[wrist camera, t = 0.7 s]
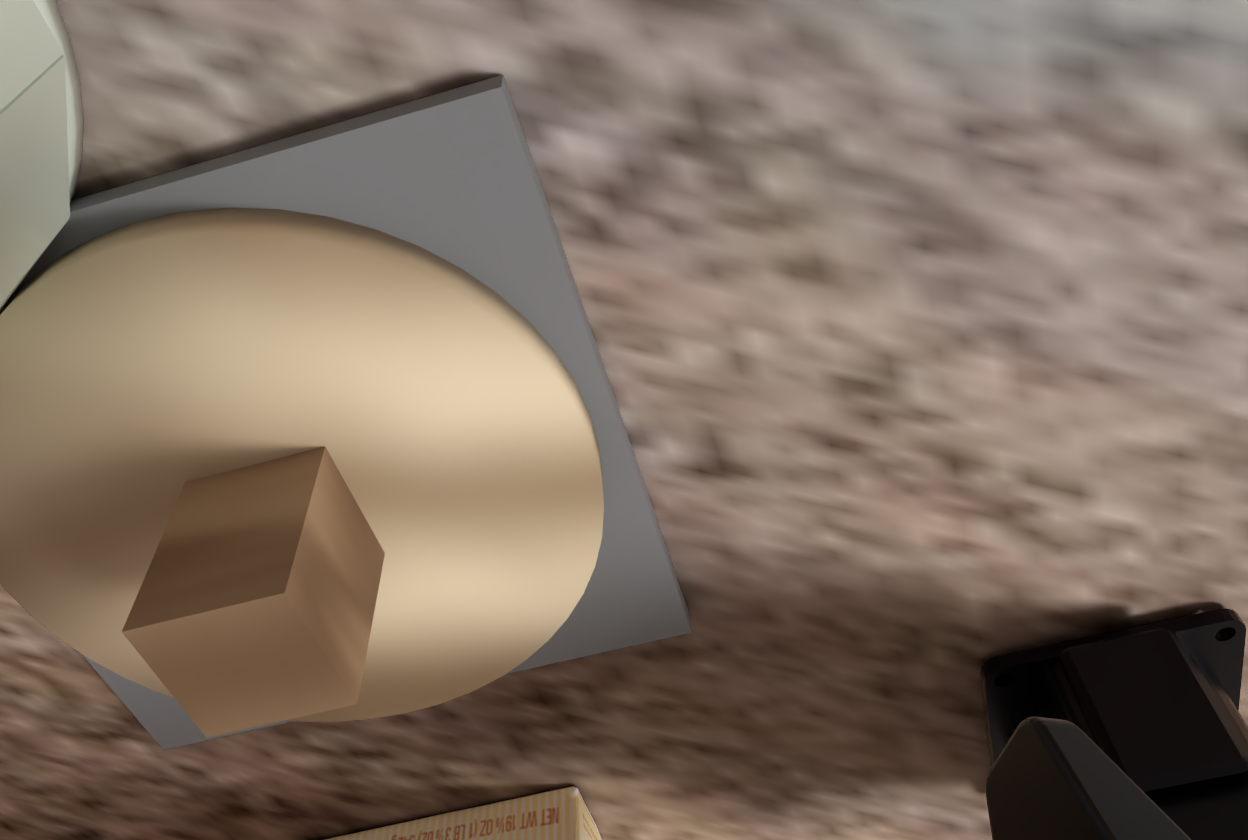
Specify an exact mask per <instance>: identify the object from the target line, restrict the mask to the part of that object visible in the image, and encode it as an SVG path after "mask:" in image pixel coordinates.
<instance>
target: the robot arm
mask: <svg viewBox="0 0 1248 840" xmlns="http://www.w3.org/2000/svg"><path fill="white" fill-rule="evenodd" d="M1245 636H1246V628H1245V625H1244V623H1243V622H1242V620H1241V619H1240V617H1239V616H1238V614H1237V613H1236V612H1235V611H1233V610H1230V609H1218V610H1213V611H1208V612H1204V613H1199V614H1194V615H1190V616H1185V617H1180V618H1175V619H1171V620H1166V621H1161V622H1157V623H1152V624H1147V625H1142V626H1138V627H1133V628H1128V629H1124V630H1119V631H1114V632H1110V633H1105V634H1100V635H1095V636H1091V637H1086V638H1081V639H1077V640H1072V641H1067V642H1062V643H1058V644H1053V645H1048V646H1044V647H1039V648H1034V649H1029V650H1025V651H1020V652H1015V653H1011V654H1006V655H1001V656H997V657H994V658H991V659H990V660H988V661H987V662H985V663H984V664H983V666H982V667H981V671H980V675H981V683H982V692H983V700H984V708H985V716H986V725H987V733H988V741H989V749H990V757H991V766H992V768H991V770H990V772H989V776H988V779H987V785H986V798H987V806H988V812H989V819H990V826H991V833H992V839H993V840H1248V726H1247V725H1246V723H1245V721H1244V720H1243V718H1242V717H1241V715H1240V713H1239V712H1238V709H1239V699H1240V688H1241V678H1242V668H1243V657H1244V647H1245Z"/></svg>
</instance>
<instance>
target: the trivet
mask: <svg viewBox="0 0 1248 840" xmlns="http://www.w3.org/2000/svg"><path fill="white" fill-rule="evenodd" d="M221 208H257V209H281V210H288V211H295V212H301V213H308V214H315V215H321V216H328V217H332V218H336V219H339V220H343V221H347V222H351V223H354V224H358V225H362V226H366V227H369V228H373V229H376V230H379V231H382V232H384V233H387V234H389V235H392V236H394V237H397V238H399V239H402V240H405V241H407V242H410V243H412V244H415V245H417V246H420V247H422V248H424V249H426V250H428V251H429V252H431V253H433V254H435V255H437V256H439V257H441V258H443V259H445V260H446V261H448V262H450V263H452V264H454V265H456V266H458V267H460V268H461V269H463V270H464V271H466V272H467V273H469V274H470V275H472V276H473V277H475V278H476V279H477V280H479V281H480V282H482V283H483V284H485V285H486V286H488V287H489V288H490V289H492V290H493V291H495V292H496V293H498V294H499V295H500V296H501V297H502V298H503V299H505V300H506V301H507V302H508V303H509V304H510V305H511V306H512V307H514V308H515V309H516V310H517V311H518V312H519V313H520V314H521V315H523V316H524V317H525V318H526V319H527V320H528V321H529V322H530V323H531V324H532V325H533V326H534V327H535V329H536V330H537V331H538V332H539V333H540V334H541V336H542V337H543V338H544V339H545V340H546V341H547V342H548V344H549V345H550V346H551V347H552V348H553V349H554V351H555V352H556V353H557V355H558V356H559V358H560V359H561V361H562V362H563V364H564V366H565V367H566V369H567V370H568V372H569V373H570V375H571V376H572V378H573V379H574V381H575V382H576V384H577V387H578V389H579V391H580V393H581V395H582V398H583V400H584V402H585V404H586V406H587V408H588V411H589V413H590V415H591V419H592V422H593V426H594V430H595V433H596V437H597V440H598V444H599V449H600V458H601V468H602V477H603V496H604V516H603V532H602V540H601V545H600V549H599V553H598V557H597V561H596V565H595V568H594V570H593V573H592V575H591V577H590V580H589V582H588V584H587V587H586V589H585V591H584V594H583V595H582V597H581V598H580V600H579V602H578V603H577V605H576V606H575V608H574V609H573V611H572V613H571V614H570V616H569V617H568V619H567V620H566V621H565V622H564V623H563V624H562V626H561V627H560V628H559V629H558V630H557V631H556V632H555V634H554V635H553V636H552V637H551V638H550V639H549V640H548V641H547V642H546V643H545V644H544V645H543V646H542V647H540V648H539V649H538V650H537V651H536V652H535V653H534V654H532V655H531V656H530V657H529V658H528V659H527V660H525V661H524V662H523V663H521V664H520V665H518V666H517V667H515V668H514V669H512V670H511V671H509V672H508V673H506V674H509V673H514V672H518V671H523V670H527V669H532V668H536V667H541V666H545V665H550V664H554V663H559V662H563V661H568V660H572V659H577V658H581V657H586V656H590V655H595V654H599V653H604V652H608V651H613V650H617V649H622V648H626V647H631V646H635V645H640V644H644V643H649V642H653V641H658V640H662V639H667V638H671V637H676V636H680V635H685V634H689V633H692V630H691V622H690V614H689V612H688V609H687V606H686V603H685V600H684V597H683V594H682V591H681V588H680V586H679V583H678V580H677V577H676V574H675V571H674V568H673V565H672V562H671V559H670V557H669V554H668V551H667V548H666V545H665V542H664V539H663V536H662V533H661V531H660V528H659V525H658V522H657V519H656V516H655V513H654V510H653V507H652V504H651V502H650V499H649V496H648V493H647V490H646V487H645V484H644V481H643V478H642V476H641V473H640V470H639V467H638V464H637V461H636V458H635V455H634V452H633V450H632V447H631V444H630V441H629V438H628V435H627V432H626V429H625V426H624V423H623V421H622V418H621V415H620V412H619V409H618V406H617V403H616V400H615V397H614V395H613V392H612V389H611V386H610V383H609V380H608V377H607V374H606V371H605V368H604V366H603V363H602V360H601V357H600V354H599V351H598V348H597V345H596V342H595V340H594V337H593V334H592V331H591V328H590V325H589V322H588V319H587V316H586V314H585V311H584V308H583V305H582V302H581V299H580V296H579V293H578V290H577V287H576V285H575V282H574V279H573V276H572V273H571V270H570V267H569V264H568V261H567V259H566V256H565V253H564V250H563V247H562V244H561V241H560V238H559V235H558V233H557V230H556V227H555V224H554V221H553V218H552V215H551V212H550V209H549V206H548V204H547V201H546V198H545V195H544V192H543V189H542V186H541V183H540V180H539V178H538V175H537V172H536V169H535V166H534V163H533V160H532V157H531V154H530V151H529V149H528V146H527V143H526V140H525V137H524V134H523V131H522V128H521V125H520V123H519V120H518V117H517V114H516V111H515V108H514V105H513V102H512V99H511V97H510V94H509V91H508V88H507V85H506V82H505V79H504V76H503V75H500V76H496V77H493V78H490V79H486V80H483V81H479V82H476V83H472V84H469V85H466V86H462V87H459V88H455V89H452V90H448V91H445V92H442V93H438V94H435V95H431V96H428V97H424V98H421V99H418V100H414V101H411V102H407V103H404V104H400V105H397V106H394V107H390V108H387V109H383V110H380V111H376V112H373V113H370V114H366V115H363V116H359V117H356V118H352V119H349V120H346V121H342V122H339V123H335V124H332V125H328V126H325V127H322V128H318V129H315V130H311V131H308V132H304V133H301V134H298V135H294V136H291V137H287V138H284V139H280V140H277V141H274V142H270V143H267V144H263V145H260V146H257V147H253V148H250V149H246V150H243V151H239V152H236V153H233V154H229V155H226V156H222V157H219V158H215V159H212V160H209V161H205V162H202V163H198V164H195V165H191V166H188V167H185V168H181V169H178V170H174V171H171V172H167V173H164V174H161V175H157V176H154V177H150V178H147V179H143V180H140V181H137V182H133V183H130V184H126V185H123V186H119V187H116V188H113V189H109V190H106V191H102V192H99V193H95V194H92V195H89V196H85V197H82V198H78V199H75V200H72V201H71V202H70V217H69V220H68V221H67V222H66V224H65V225H64V226H63V228H62V229H61V230H60V232H59V233H58V234H57V236H56V237H55V238H54V240H53V241H52V242H51V244H50V245H49V246H48V247H47V249H46V250H45V251H44V253H43V254H42V255H41V257H40V258H39V259H38V261H37V262H36V263H35V265H34V266H33V267H32V269H31V270H30V271H29V273H28V274H27V275H26V276H25V278H24V279H23V280H22V282H21V283H20V284H19V286H18V287H17V288H16V290H15V291H14V292H13V294H12V295H11V296H10V298H9V299H8V300H7V302H6V303H5V304H4V305H3V307H2V308H1V309H0V312H1V311H2V310H3V308H4V307H5V306H6V305H7V304H8V303H9V302H10V301H11V299H12V298H13V297H14V296H15V295H16V294H17V293H18V292H19V291H20V290H21V289H22V287H23V286H24V285H25V284H26V283H27V282H28V281H29V280H30V279H31V278H33V277H34V276H35V275H37V274H38V273H39V272H40V271H42V270H43V269H44V268H46V267H47V266H48V265H50V264H51V263H52V262H53V261H55V260H56V259H57V258H59V257H60V256H62V255H64V254H65V253H67V252H69V251H71V250H73V249H75V248H76V247H78V246H80V245H82V244H84V243H86V242H88V241H89V240H91V239H93V238H95V237H97V236H100V235H102V234H105V233H108V232H111V231H113V230H116V229H119V228H122V227H124V226H127V225H130V224H133V223H135V222H138V221H143V220H147V219H152V218H156V217H161V216H166V215H170V214H175V213H180V212H186V211H197V210H209V209H221ZM82 655H83V654H82ZM83 656H84V655H83ZM84 658H85V659H86V660H87V661H88V662H89V663H90V665H91V666H92V667H93V668H94V669H95V670H96V672H97V673H98V674H99V675H100V676H101V678H102V679H103V680H104V681H105V682H106V683H107V685H108V686H109V687H110V688H111V689H112V690H113V692H114V693H115V694H116V695H117V696H118V697H119V699H120V700H121V701H122V702H123V703H124V704H125V706H126V707H127V708H128V709H129V710H130V712H131V713H132V714H133V715H134V716H135V717H136V719H137V720H138V721H139V722H140V723H141V724H142V726H143V727H144V728H145V729H146V730H147V731H148V733H149V734H150V735H151V736H152V737H153V738H154V740H155V741H156V742H157V743H158V744H159V746H160V747H161V748H162V749H163V750H167V749H172V748H176V747H181V746H185V745H190V744H194V743H199V742H203V741H208V740H212V739H217V738H221V737H226V736H230V735H235V734H239V733H244V732H248V731H253V730H257V729H262V728H266V727H271V726H275V725H280V724H284V723H289V722H293V721H280V722H275V723H271V724H266V725H262V726H257V727H253V728H248V729H244V730H240V731H235V732H231V733H226V734H222V735H217V736H213V737H208V738H207V737H206V736H205V735H204V734H203V732H202V731H201V730H200V729H199V727H198V726H197V725H196V724H195V723H194V721H193V720H192V719H191V718H190V716H189V715H188V714H187V713H186V711H185V710H184V709H183V708H182V706H181V705H180V704H179V703H178V701H177V700H176V699H175V698H174V697H171V696H168V695H165V694H162V693H159V692H156V691H154V690H152V689H149V688H147V687H145V686H142V685H140V684H138V683H135V682H133V681H131V680H128V679H126V678H124V677H122V676H120V675H118V674H116V673H114V672H113V671H111V670H109V669H107V668H105V667H103V666H101V665H100V664H98V663H96V662H94V661H92V660H90V659H89V658H87V657H86V656H84Z"/></svg>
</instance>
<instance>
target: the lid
mask: <svg viewBox="0 0 1248 840" xmlns="http://www.w3.org/2000/svg"><path fill="white" fill-rule="evenodd" d="M603 516H604V496H603V477H602V468H601V458H600V449H599V444H598V440H597V437H596V433H595V430H594V426H593V422H592V419H591V415H590V413H589V411H588V408H587V406H586V404H585V402H584V400H583V398H582V395H581V393H580V391H579V389H578V387H577V384H576V382H575V381H574V379H573V378H572V376H571V375H570V373H569V372H568V370H567V369H566V367H565V366H564V364H563V362H562V361H561V359H560V358H559V356H558V355H557V353H556V352H555V351H554V349H553V348H552V347H551V346H550V345H549V344H548V342H547V341H546V340H545V339H544V338H543V337H542V336H541V334H540V333H539V332H538V331H537V330H536V329H535V327H534V326H533V325H532V324H531V323H530V322H529V321H528V320H527V319H526V318H525V317H524V316H523V315H521V314H520V313H519V312H518V311H517V310H516V309H515V308H514V307H512V306H511V305H510V304H509V303H508V302H507V301H506V300H505V299H503V298H502V297H501V296H500V295H499V294H498V293H496V292H495V291H493V290H492V289H490V288H489V287H488V286H486V285H485V284H483V283H482V282H480V281H479V280H477V279H476V278H475V277H473V276H472V275H470V274H469V273H467V272H466V271H464V270H463V269H461V268H460V267H458V266H456V265H454V264H452V263H450V262H448V261H446V260H445V259H443V258H441V257H439V256H437V255H435V254H433V253H431V252H429V251H428V250H426V249H424V248H422V247H420V246H417V245H415V244H412V243H410V242H407V241H405V240H402V239H399V238H397V237H394V236H392V235H389V234H387V233H384V232H382V231H379V230H376V229H373V228H369V227H366V226H362V225H358V224H354V223H351V222H347V221H343V220H339V219H336V218H332V217H328V216H321V215H315V214H308V213H301V212H295V211H288V210H281V209H257V208H221V209H209V210H197V211H186V212H180V213H175V214H170V215H166V216H161V217H156V218H152V219H147V220H143V221H138V222H135V223H133V224H130V225H127V226H124V227H122V228H119V229H116V230H113V231H111V232H108V233H105V234H102V235H100V236H97V237H95V238H93V239H91V240H89V241H88V242H86V243H84V244H82V245H80V246H78V247H76V248H75V249H73V250H71V251H69V252H67V253H65V254H64V255H62V256H60V257H59V258H57V259H56V260H55V261H53V262H52V263H51V264H50V265H48V266H47V267H46V268H44V269H43V270H42V271H40V272H39V273H38V274H37V275H35V276H34V277H33V278H31V279H30V280H29V281H28V282H27V283H26V284H25V285H24V286H23V287H22V289H21V290H20V291H19V292H18V293H17V294H16V295H15V296H14V297H13V298H12V299H11V301H10V302H9V303H8V304H7V305H6V306H5V307H4V308H3V310H2V311H1V312H0V583H1V585H2V586H3V587H4V588H5V590H6V591H7V592H8V593H9V594H10V595H11V596H12V597H13V598H14V599H15V600H16V601H17V602H18V603H19V604H20V605H21V606H22V607H23V608H24V609H25V610H26V611H27V612H28V613H29V614H30V615H31V616H32V617H33V618H35V619H36V620H37V621H38V622H39V623H41V624H42V625H43V626H44V627H45V628H47V629H48V630H49V631H50V632H52V633H53V634H54V635H55V636H56V637H58V638H59V639H60V640H62V641H63V642H65V643H66V644H68V645H69V646H71V647H72V648H74V649H75V650H77V651H78V652H80V653H81V654H83V655H84V656H86V657H87V658H89V659H90V660H92V661H94V662H96V663H98V664H100V665H101V666H103V667H105V668H107V669H109V670H111V671H113V672H114V673H116V674H118V675H120V676H122V677H124V678H126V679H128V680H131V681H133V682H135V683H138V684H140V685H142V686H145V687H147V688H149V689H152V690H154V691H156V692H159V693H162V694H165V695H168V696H171V697H174V698H175V699H176V700H177V701H178V703H179V704H180V705H181V706H182V708H183V709H184V710H185V711H186V713H187V714H188V715H189V716H190V718H191V719H192V720H193V721H194V723H195V724H196V725H197V726H198V727H199V729H200V730H201V731H202V732H203V734H204V735H205V736H206V737H207V738H208V737H213V736H217V735H222V734H226V733H231V732H235V731H240V730H244V729H248V728H253V727H257V726H262V725H266V724H271V723H275V722H280V721H297V722H344V721H356V720H367V719H376V718H382V717H388V716H393V715H399V714H405V713H410V712H413V711H417V710H421V709H424V708H428V707H432V706H435V705H439V704H442V703H445V702H447V701H450V700H452V699H455V698H458V697H460V696H463V695H466V694H468V693H471V692H473V691H475V690H477V689H479V688H481V687H483V686H485V685H487V684H488V683H490V682H492V681H494V680H496V679H498V678H500V677H502V676H503V675H505V674H506V673H508V672H509V671H511V670H512V669H514V668H515V667H517V666H518V665H520V664H521V663H523V662H524V661H525V660H527V659H528V658H529V657H530V656H531V655H532V654H534V653H535V652H536V651H537V650H538V649H539V648H540V647H542V646H543V645H544V644H545V643H546V642H547V641H548V640H549V639H550V638H551V637H552V636H553V635H554V634H555V632H556V631H557V630H558V629H559V628H560V627H561V626H562V624H563V623H564V622H565V621H566V620H567V619H568V617H569V616H570V614H571V613H572V611H573V609H574V608H575V606H576V605H577V603H578V602H579V600H580V598H581V597H582V595H583V594H584V591H585V589H586V587H587V584H588V582H589V580H590V577H591V575H592V573H593V570H594V568H595V565H596V561H597V557H598V553H599V549H600V545H601V540H602V532H603Z"/></svg>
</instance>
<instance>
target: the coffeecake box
mask: <svg viewBox="0 0 1248 840" xmlns="http://www.w3.org/2000/svg"><path fill="white" fill-rule="evenodd" d="M325 840H602V839H601V837H600V834H599V831H598V828H597V826H596V824H595V822H594V820H593V818H592V816H591V814H590V812H589V810H588V809H587V807H586V805H585V803H584V801H583V799H582V796H581V794H580V792H579V790H578V788H577V787H574V786H572V787H567V788H563V789H558V790H553V791H548V792H543V793H539V794H534V795H530V796H525V797H520V798H516V799H511V800H507V801H502V802H497V803H493V804H488V805H484V806H479V807H474V808H469V809H464V810H459V811H454V812H450V813H445V814H441V815H436V816H432V817H427V818H422V819H418V820H413V821H409V822H404V823H399V824H395V825H390V826H386V827H381V828H376V829H372V830H367V831H362V832H358V833H353V834H348V835H344V836H339V837H334V838H330V839H325Z"/></svg>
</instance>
